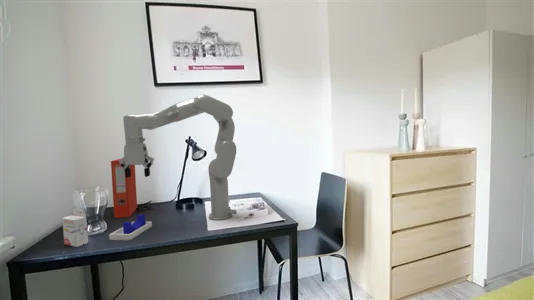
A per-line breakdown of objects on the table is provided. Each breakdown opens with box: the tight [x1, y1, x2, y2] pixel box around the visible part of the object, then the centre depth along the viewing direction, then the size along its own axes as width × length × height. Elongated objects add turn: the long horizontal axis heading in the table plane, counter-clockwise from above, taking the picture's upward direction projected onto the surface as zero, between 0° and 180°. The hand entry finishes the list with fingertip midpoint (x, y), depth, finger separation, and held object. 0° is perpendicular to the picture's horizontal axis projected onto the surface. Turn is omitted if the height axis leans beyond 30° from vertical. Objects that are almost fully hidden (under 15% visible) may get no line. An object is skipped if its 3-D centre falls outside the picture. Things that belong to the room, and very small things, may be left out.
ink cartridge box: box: [61, 207, 89, 248], centre depth 113 cm, size 9×5×15 cm, turn 70°
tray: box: [108, 221, 153, 241], centre depth 124 cm, size 10×17×2 cm, turn 173°
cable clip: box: [122, 214, 146, 234], centre depth 125 cm, size 12×4×6 cm, turn 173°
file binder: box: [110, 157, 138, 219], centre depth 156 cm, size 8×17×32 cm, turn 13°
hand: (137, 176), depth 127 cm, fingers open, 9 cm apart
